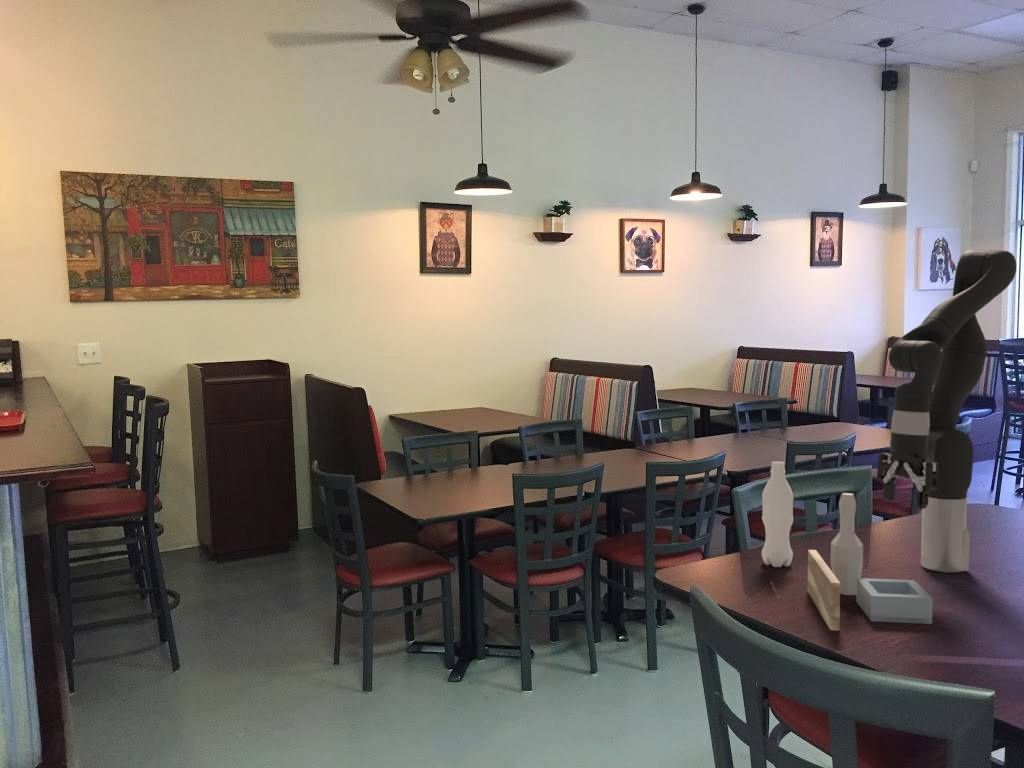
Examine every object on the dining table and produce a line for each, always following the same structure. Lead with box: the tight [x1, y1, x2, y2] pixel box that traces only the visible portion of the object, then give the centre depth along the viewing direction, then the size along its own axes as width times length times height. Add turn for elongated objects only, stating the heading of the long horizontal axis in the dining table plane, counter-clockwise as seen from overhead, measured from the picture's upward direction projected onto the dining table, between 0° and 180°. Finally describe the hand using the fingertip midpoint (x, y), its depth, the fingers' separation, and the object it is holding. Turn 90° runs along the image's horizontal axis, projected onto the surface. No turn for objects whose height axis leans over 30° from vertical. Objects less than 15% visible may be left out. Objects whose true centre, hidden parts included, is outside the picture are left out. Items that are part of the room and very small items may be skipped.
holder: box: [855, 577, 934, 625], centre depth 160 cm, size 11×11×5 cm
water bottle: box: [761, 460, 794, 568], centre depth 195 cm, size 7×7×25 cm
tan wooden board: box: [807, 549, 841, 631], centre depth 161 cm, size 22×22×10 cm
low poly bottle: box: [830, 492, 864, 596], centre depth 172 cm, size 6×6×22 cm
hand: (904, 504), depth 179 cm, fingers open, 8 cm apart
